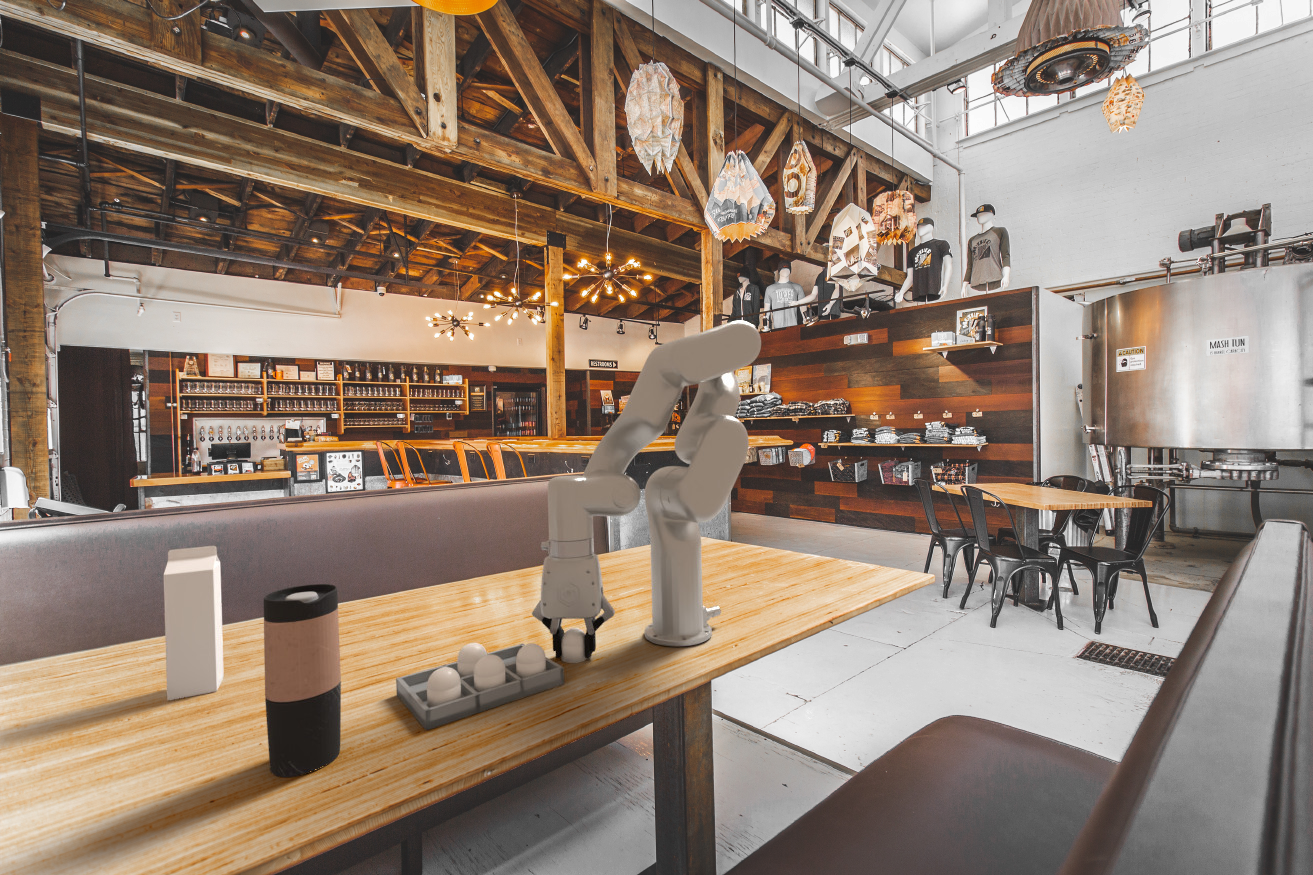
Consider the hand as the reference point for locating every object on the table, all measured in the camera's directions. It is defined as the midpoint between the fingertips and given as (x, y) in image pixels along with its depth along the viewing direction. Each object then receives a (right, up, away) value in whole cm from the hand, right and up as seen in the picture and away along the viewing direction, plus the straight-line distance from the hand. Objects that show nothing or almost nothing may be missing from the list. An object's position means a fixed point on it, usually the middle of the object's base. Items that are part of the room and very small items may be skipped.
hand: (574, 654), depth 97 cm
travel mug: (-28, -2, -29) cm, 40 cm away
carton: (-12, -1, -11) cm, 17 cm away
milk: (-58, -2, -8) cm, 58 cm away
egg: (0, -1, 0) cm, 1 cm away
